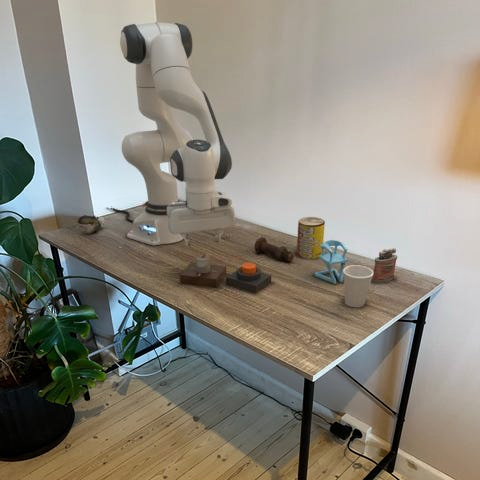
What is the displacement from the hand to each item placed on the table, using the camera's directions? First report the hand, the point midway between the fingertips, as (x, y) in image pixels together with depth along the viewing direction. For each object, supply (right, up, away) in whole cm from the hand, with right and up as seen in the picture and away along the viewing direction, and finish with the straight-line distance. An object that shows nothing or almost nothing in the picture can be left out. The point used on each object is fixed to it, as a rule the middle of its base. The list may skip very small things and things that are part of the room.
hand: (202, 243), depth 152 cm
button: (+14, -9, 0) cm, 17 cm away
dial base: (0, -10, +6) cm, 12 cm away
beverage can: (+36, 0, +23) cm, 43 cm away
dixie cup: (+45, -19, -9) cm, 49 cm away
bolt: (+24, -2, +21) cm, 31 cm away
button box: (+14, -12, +3) cm, 19 cm away
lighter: (+57, -11, +5) cm, 58 cm away
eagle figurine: (-47, +12, +46) cm, 67 cm away
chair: (+41, -10, +6) cm, 42 cm away
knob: (0, -8, +4) cm, 9 cm away
